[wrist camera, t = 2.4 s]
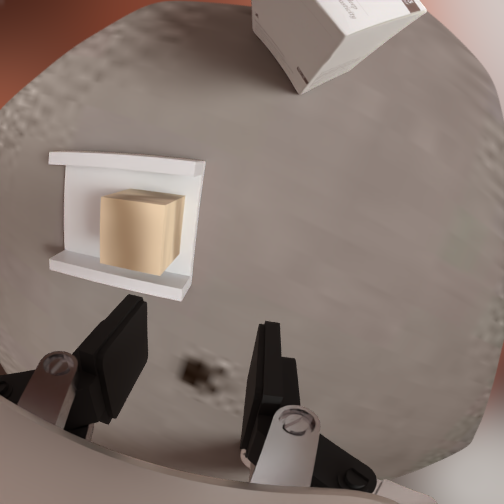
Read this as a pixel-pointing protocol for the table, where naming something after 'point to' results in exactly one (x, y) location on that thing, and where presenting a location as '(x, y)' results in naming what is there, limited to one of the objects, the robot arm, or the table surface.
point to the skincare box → (327, 33)
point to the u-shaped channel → (115, 180)
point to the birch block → (141, 230)
